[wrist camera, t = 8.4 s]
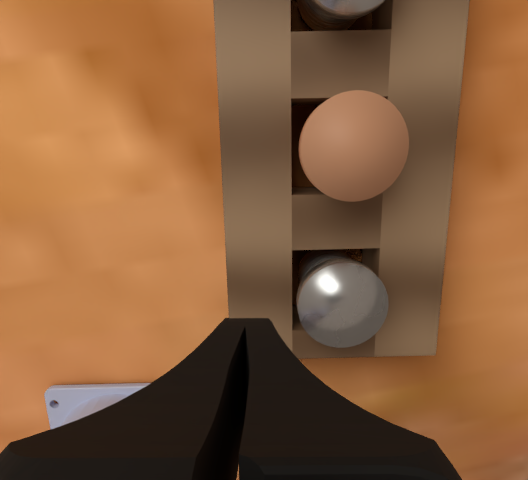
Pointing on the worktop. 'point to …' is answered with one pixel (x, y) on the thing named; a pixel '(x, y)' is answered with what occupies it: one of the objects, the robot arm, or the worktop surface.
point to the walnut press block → (312, 199)
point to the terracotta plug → (354, 145)
